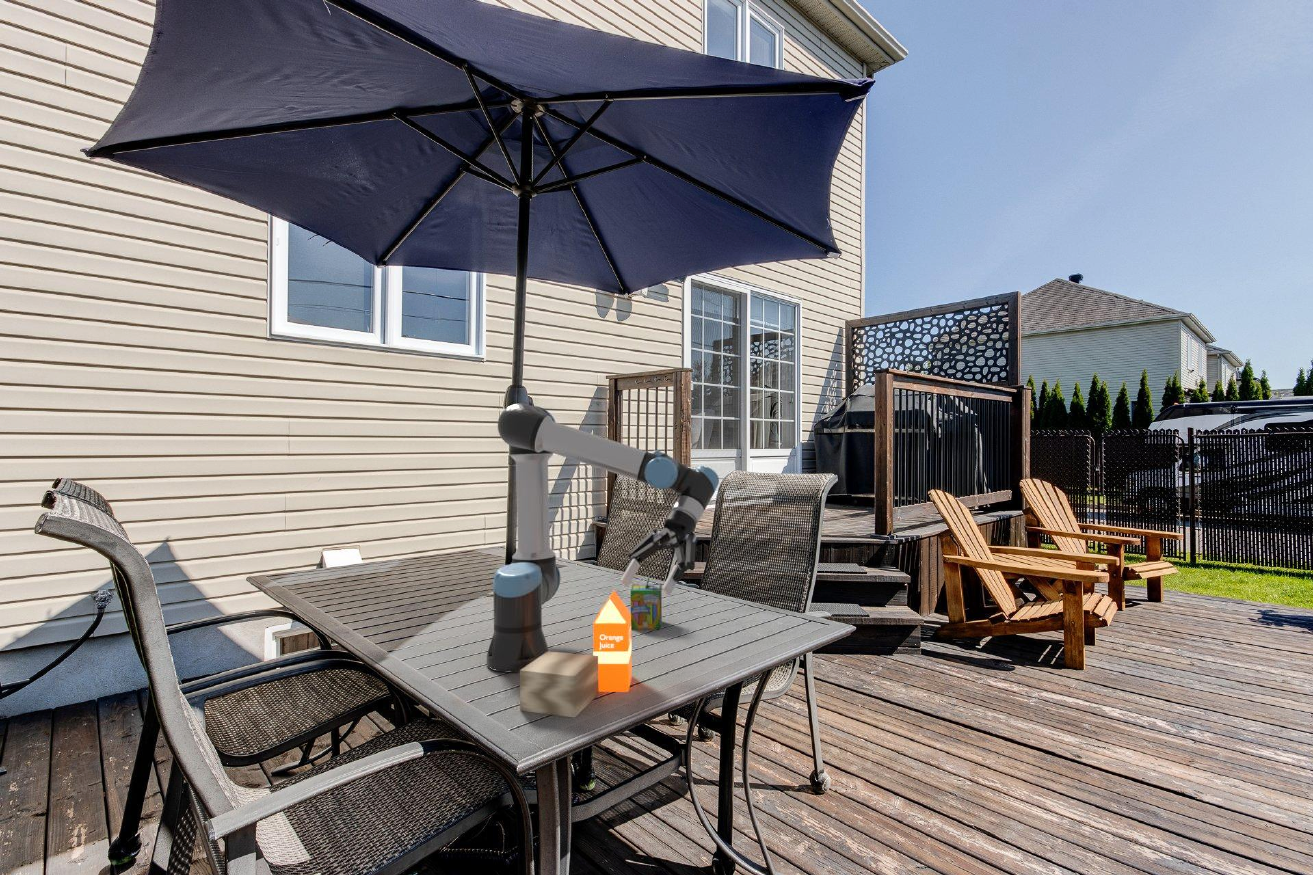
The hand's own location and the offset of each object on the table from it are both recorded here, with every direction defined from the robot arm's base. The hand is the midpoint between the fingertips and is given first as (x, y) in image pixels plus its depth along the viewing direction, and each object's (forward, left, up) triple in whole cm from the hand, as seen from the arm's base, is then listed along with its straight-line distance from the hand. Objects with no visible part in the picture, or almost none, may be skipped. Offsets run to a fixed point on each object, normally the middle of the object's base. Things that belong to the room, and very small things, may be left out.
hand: (644, 587), depth 141 cm
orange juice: (-5, -9, -20) cm, 22 cm away
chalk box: (-12, +36, -20) cm, 43 cm away
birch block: (-12, -21, -20) cm, 31 cm away
